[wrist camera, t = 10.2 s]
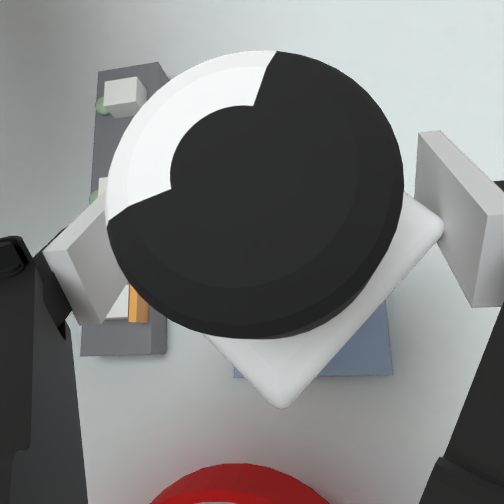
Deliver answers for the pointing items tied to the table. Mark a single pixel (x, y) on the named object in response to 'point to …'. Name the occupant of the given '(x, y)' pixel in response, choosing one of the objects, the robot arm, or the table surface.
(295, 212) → the container
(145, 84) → the breaker panel
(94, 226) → the robot arm
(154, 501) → the toy clock
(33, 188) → the table surface
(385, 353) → the pad
